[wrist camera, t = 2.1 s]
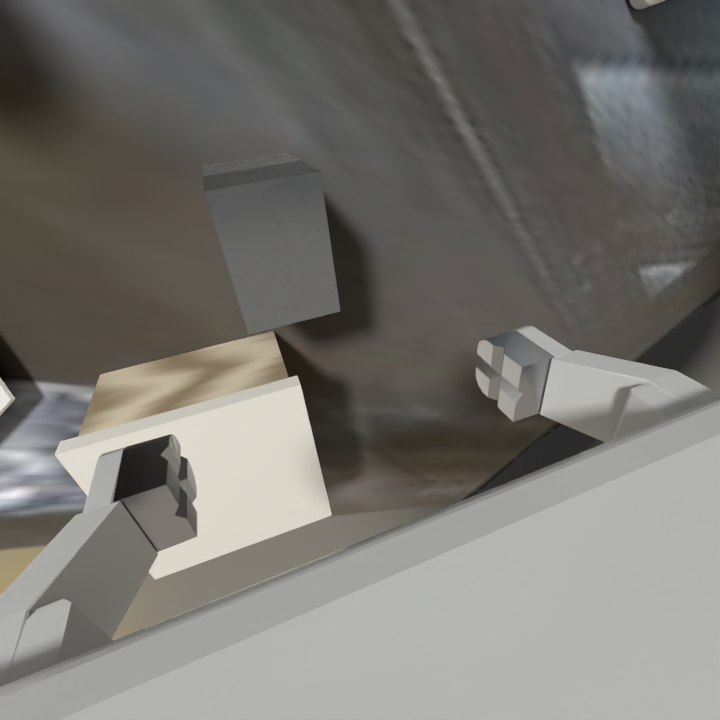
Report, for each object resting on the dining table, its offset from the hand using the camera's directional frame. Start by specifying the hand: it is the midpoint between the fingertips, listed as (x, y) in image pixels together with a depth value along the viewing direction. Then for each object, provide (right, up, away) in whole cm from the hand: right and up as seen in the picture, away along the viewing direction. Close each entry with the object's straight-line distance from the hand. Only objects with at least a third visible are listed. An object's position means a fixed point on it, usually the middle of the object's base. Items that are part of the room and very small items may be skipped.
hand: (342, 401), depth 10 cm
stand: (-11, -3, +21) cm, 24 cm away
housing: (-6, +10, +15) cm, 19 cm away
